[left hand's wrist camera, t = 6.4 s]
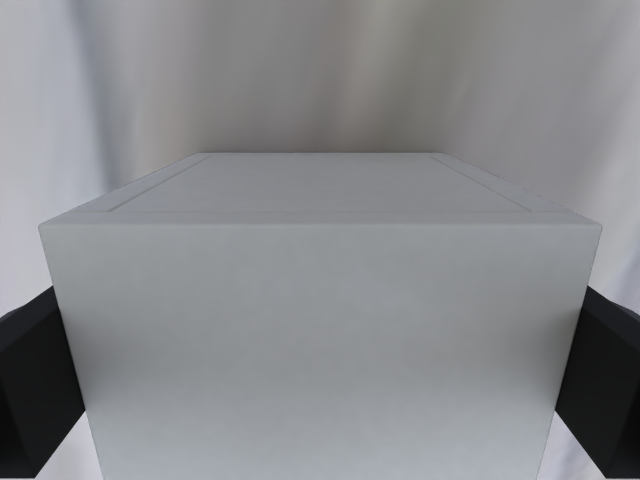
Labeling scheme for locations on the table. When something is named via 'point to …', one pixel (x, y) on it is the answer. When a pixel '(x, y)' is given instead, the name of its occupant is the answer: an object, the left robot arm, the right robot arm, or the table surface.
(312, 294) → the grey box
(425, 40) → the table surface
